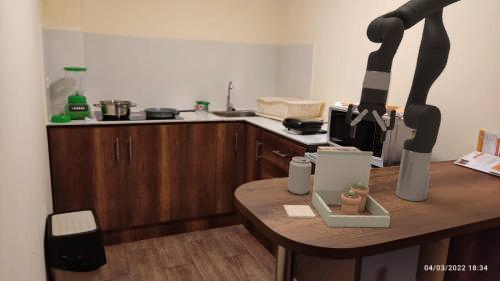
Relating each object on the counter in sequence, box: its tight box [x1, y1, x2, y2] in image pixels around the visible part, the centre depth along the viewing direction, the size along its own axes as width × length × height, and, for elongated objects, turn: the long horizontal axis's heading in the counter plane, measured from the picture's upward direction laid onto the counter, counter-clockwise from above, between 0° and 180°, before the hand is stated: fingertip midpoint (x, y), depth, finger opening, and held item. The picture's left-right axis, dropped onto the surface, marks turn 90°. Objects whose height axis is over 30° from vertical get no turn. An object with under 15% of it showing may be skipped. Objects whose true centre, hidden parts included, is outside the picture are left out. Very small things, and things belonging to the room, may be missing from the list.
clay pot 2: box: [350, 182, 370, 213], centre depth 116 cm, size 6×6×9 cm
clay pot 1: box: [339, 190, 361, 216], centre depth 108 cm, size 6×6×9 cm
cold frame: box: [311, 150, 391, 228], centre depth 110 cm, size 18×17×18 cm
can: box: [287, 156, 312, 195], centre depth 128 cm, size 8×8×12 cm
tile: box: [283, 204, 317, 219], centre depth 111 cm, size 8×8×1 cm
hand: (366, 140), depth 113 cm, fingers open, 8 cm apart
